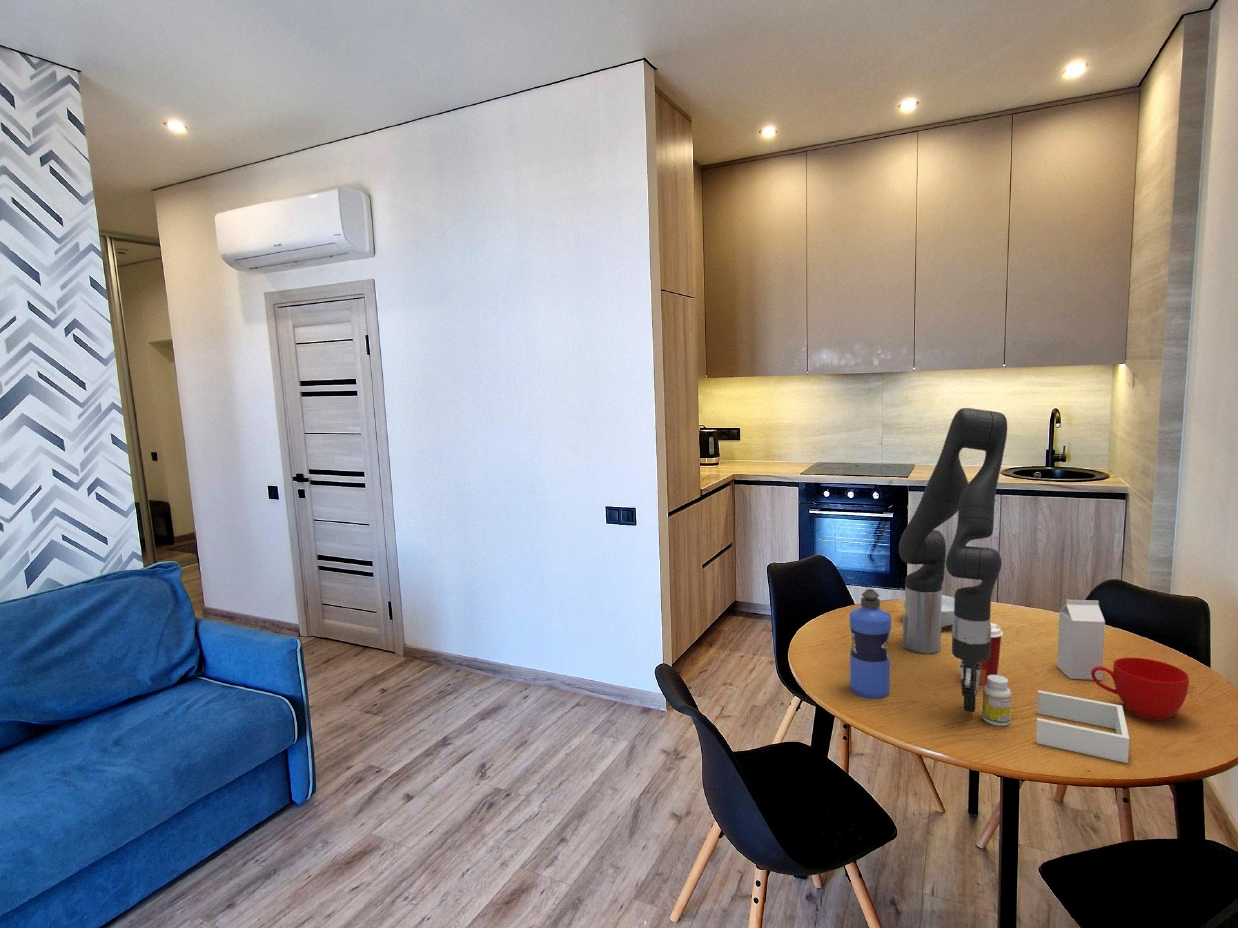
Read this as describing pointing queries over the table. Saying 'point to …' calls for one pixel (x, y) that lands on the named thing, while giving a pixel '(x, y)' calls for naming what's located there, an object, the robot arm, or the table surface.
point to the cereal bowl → (946, 611)
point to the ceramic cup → (1147, 686)
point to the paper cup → (991, 655)
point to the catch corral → (1079, 736)
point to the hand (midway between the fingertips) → (969, 710)
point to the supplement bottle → (997, 701)
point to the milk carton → (1080, 639)
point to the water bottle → (870, 648)
